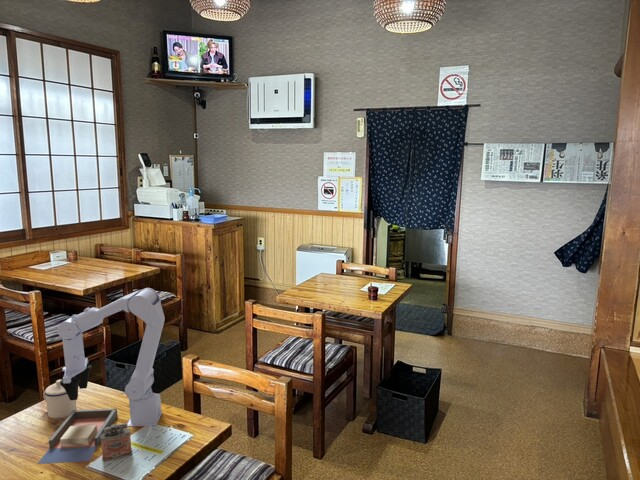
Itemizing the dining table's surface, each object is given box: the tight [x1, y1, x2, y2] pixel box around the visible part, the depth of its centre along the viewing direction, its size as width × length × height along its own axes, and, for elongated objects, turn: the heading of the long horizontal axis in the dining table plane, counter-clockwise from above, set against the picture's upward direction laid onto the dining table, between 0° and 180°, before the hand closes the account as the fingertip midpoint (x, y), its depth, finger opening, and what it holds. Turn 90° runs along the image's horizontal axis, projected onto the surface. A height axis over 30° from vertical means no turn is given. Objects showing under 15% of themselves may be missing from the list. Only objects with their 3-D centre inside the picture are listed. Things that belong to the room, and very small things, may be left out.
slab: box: [60, 425, 97, 447], centre depth 146 cm, size 8×7×2 cm
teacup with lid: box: [42, 379, 78, 419], centre depth 161 cm, size 12×9×12 cm
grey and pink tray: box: [48, 408, 118, 449], centre depth 150 cm, size 14×17×3 cm
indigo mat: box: [37, 446, 99, 465], centre depth 138 cm, size 14×7×1 cm, turn 95°
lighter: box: [100, 422, 133, 462], centre depth 137 cm, size 8×3×10 cm, turn 113°
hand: (78, 393), depth 155 cm, fingers open, 7 cm apart
